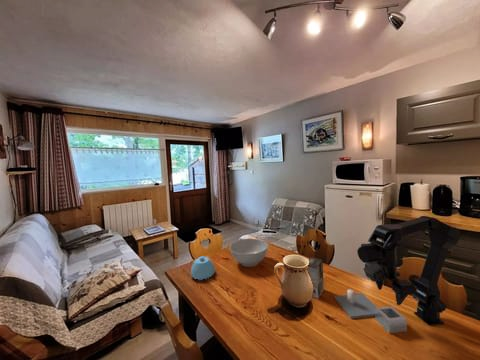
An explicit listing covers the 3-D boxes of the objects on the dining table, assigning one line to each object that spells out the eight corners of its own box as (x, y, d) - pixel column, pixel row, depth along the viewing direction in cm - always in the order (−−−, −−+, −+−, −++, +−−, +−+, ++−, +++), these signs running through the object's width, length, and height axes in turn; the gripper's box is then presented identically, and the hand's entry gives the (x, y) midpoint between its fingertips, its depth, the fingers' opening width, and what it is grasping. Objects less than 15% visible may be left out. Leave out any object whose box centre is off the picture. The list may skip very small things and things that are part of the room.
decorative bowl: (225, 259, 143) (223, 243, 142) (257, 251, 154) (256, 236, 153) (240, 277, 119) (239, 258, 118) (277, 265, 130) (276, 247, 129)
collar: (391, 317, 82) (391, 305, 81) (406, 331, 75) (406, 318, 74) (375, 319, 81) (375, 307, 81) (389, 333, 74) (388, 320, 74)
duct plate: (362, 295, 96) (362, 282, 96) (383, 315, 83) (382, 300, 83) (334, 298, 95) (334, 285, 95) (351, 318, 82) (350, 304, 82)
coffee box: (311, 285, 107) (310, 256, 106) (324, 289, 102) (323, 259, 101) (305, 294, 100) (304, 263, 99) (318, 299, 95) (317, 267, 94)
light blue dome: (213, 280, 117) (211, 262, 117) (188, 282, 118) (186, 263, 117) (216, 268, 132) (215, 251, 132) (194, 269, 133) (193, 252, 132)
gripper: (352, 250, 85) (354, 284, 86) (386, 273, 67) (388, 317, 68) (376, 247, 86) (378, 282, 87) (417, 270, 67) (418, 313, 68)
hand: (388, 296), depth 77 cm, fingers open, 9 cm apart
